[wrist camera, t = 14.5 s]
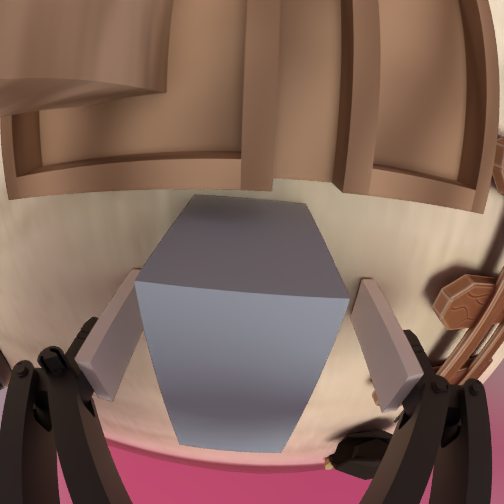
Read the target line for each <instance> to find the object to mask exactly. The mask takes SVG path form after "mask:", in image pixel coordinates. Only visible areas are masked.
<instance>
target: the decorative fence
mask: <svg viewBox="0 0 504 504" xmlns="http://www.w3.org/2000/svg"><path fill="white" fill-rule="evenodd" d="M492 175H493V178H494V181H495V184H496V187H497V191H498V192H499V193H501V194H502V195H504V137H502V138H499V139H497V145H496V153H495V160H494V167H493V173H492ZM432 309H433V310H434V312H435V313H436V315H437V316H438V318H439V320H440V321H441V322H442V324H443V325H444V326H445V328H446V329H447V330H455V329H463V328H469V329H468V330H467V332H466V333H465V335H464V336H463V338H462V339H461V341H460V342H459V343H458V345H457V346H456V348H455V349H454V350H453V352H452V353H451V354H450V356H449V357H448V358H447V360H446V361H445V362H444V364H443V365H442V366H438V367H433V369H434V371H435V373H436V375H440V376H442V377H444V378H446V380H447V381H448V382H449V384H453V385H463V384H464V383H465V382H466V380H468V379H470V378H474V379H478V378H479V377H480V376H481V375H482V373H483V372H484V371H485V370H486V369H487V367H488V366H489V365H490V364H491V363H492V361H493V359H492V358H491V357H492V356H493V355H494V353H495V352H496V351H497V349H498V348H499V347H500V345H501V344H502V343H503V341H504V266H503V268H502V271H501V273H500V275H499V277H498V278H494V277H485V276H476V275H468V274H466V275H463V276H462V277H460V278H458V279H457V280H455V281H453V282H452V283H450V284H448V285H447V286H445V287H443V288H441V290H440V292H439V294H438V296H437V298H436V300H435V302H434V303H433V305H432ZM497 323H500V324H499V326H498V327H497V329H496V330H495V332H494V333H493V335H492V336H491V338H490V339H489V340H488V342H487V343H486V345H485V346H484V347H483V349H482V350H481V351H480V353H479V354H478V355H477V357H474V358H470V359H468V358H469V357H470V355H471V354H472V353H473V352H474V350H475V349H476V347H477V346H478V345H479V343H480V342H481V341H482V339H483V338H484V336H485V335H486V333H487V332H488V330H489V329H490V327H491V326H492V324H497ZM372 397H373V399H374V402H375V404H376V405H378V406H380V405H379V401H378V398H377V395H376V392H375V391H374V392H373V393H372ZM401 405H402V404H401ZM401 405H400V406H401Z"/></svg>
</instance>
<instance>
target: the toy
mask: <svg viewBox="0 0 504 504" xmlns="http://www.w3.org/2000/svg"><path fill="white" fill-rule="evenodd" d="M392 436H393V435H392V434H390V433H388V432H385V431H383V430H381V429H380V430H375V431H368V432H360V433H352V434H348V435H347V436H346V437H345V438H344V439H343V440H342V441H341V442H340V443H339V444H338V446H337V449H336V451H335V454H334V455H330V456H329V458H327V459H326V460H325V468H326V469H327V470H330V469H332V468H333V467H334V468H335V469H336V470H339V471H341V472H344V473H347V474H350V475H353V476H355V477H358V478H361V479H364V480H367V479H372V478H374V476H375V474H376V472H377V470H378V468H379V466H380V463H381V461H382V459H383V457H384V455H385V452H386V450H387V448H388V446H389V443H390V441H391V438H392Z"/></svg>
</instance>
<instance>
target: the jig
mask: <svg viewBox="0 0 504 504" xmlns="http://www.w3.org/2000/svg"><path fill="white" fill-rule="evenodd" d="M498 123H499V66H498V54H497V45H496V38H495V31H494V25H493V20H492V15H491V10H490V6H489V2H488V0H173V8H172V17H171V27H170V38H169V51H168V68H167V93H159V94H150V95H142V96H135V97H129V98H123V99H117V100H111V101H106V102H101V103H97V104H92V105H88V106H83V107H70V108H58V109H49V110H41V111H34V112H27V113H21V114H15V115H10V116H5V117H0V129H1V146H2V157H3V166H4V174H5V181H6V187H7V193H8V198H9V200H13V199H21V198H29V197H38V196H48V195H59V194H71V193H84V192H100V191H120V190H150V189H223V190H254V191H272V182H273V178H282V179H297V180H310V181H322V182H332V183H333V184H334V185H335V186H336V187H337V188H338V189H339V190H340V191H341V192H342V193H350V194H359V195H368V196H376V197H384V198H392V199H399V200H406V201H413V202H420V203H426V204H432V205H438V206H444V207H449V208H455V209H460V210H465V211H470V212H475V213H480V214H483V213H484V210H485V206H486V201H487V197H488V193H489V188H490V183H491V178H492V173H493V167H494V160H495V153H496V145H497V136H498Z"/></svg>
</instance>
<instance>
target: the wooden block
mask: <svg viewBox="0 0 504 504" xmlns="http://www.w3.org/2000/svg"><path fill="white" fill-rule="evenodd" d="M172 8H173V0H0V117H5V116H10V115H15V114H21V113H27V112H34V111H41V110H49V109H58V108H70V107H83V106H88V105H92V104H97V103H101V102H106V101H111V100H117V99H123V98H129V97H135V96H142V95H150V94H159V93H167V68H168V51H169V38H170V27H171V17H172Z"/></svg>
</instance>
